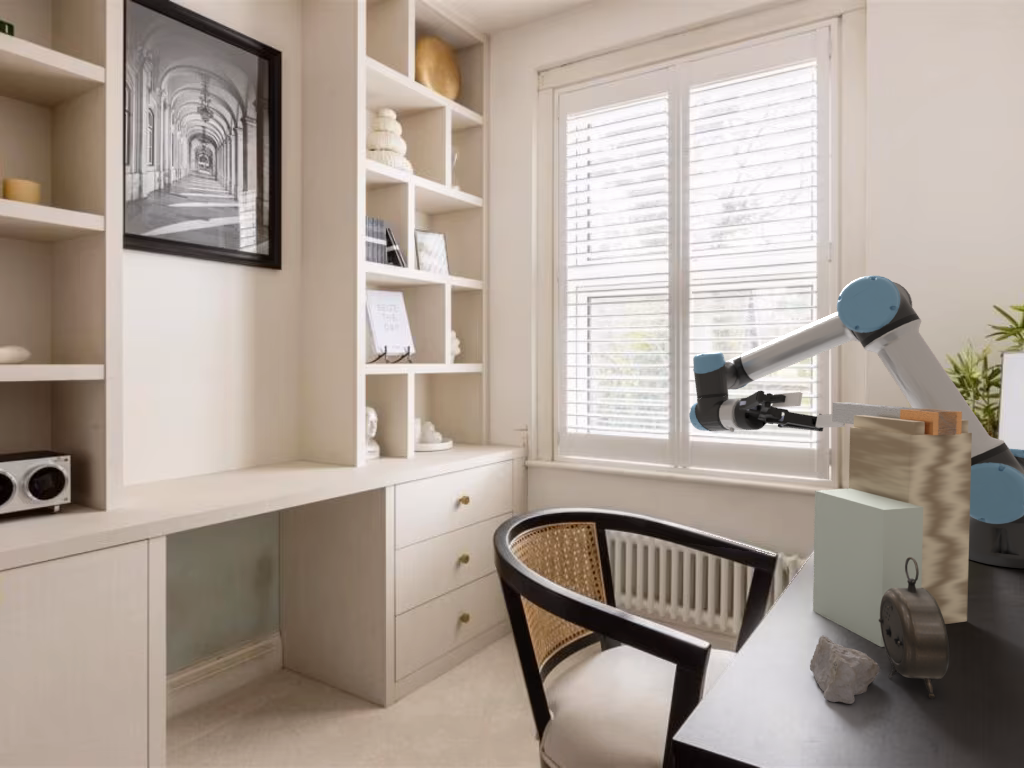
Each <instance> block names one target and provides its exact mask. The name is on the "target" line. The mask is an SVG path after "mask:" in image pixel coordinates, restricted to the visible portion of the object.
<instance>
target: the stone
mask: <svg viewBox="0 0 1024 768" xmlns="http://www.w3.org/2000/svg"><path fill="white" fill-rule="evenodd" d="M809 668H810V671H811V672H812V674H813V676H814V679H815V682H816V683H817V684H818V685H819V686H818V687H819V688H820V690H821V691H823V698H825V700H827V701H828V702H830V703H837V702H839V703H843V704H847V705H848V704H849V705H851V704H853V703H854V702H855V695H858V696H859V695H861V694H863V693H866V692H867V691H868V686H869V685H870V684H871V683H873V682H875V680H876V677H877V676H878V675H879V673H880V672H881V669H880V666H879V663H877V661H876V660H875V659H873V658H871V657H870V656H869V655H868V654H867V653H865V652H862V651H860V650H857V649H854V648H849V647H845V646H843V645H841V644H838V643H836V642H833V641H832V640H831V639H830V638H829V637H828V636H825V635H820V636H819V637H818V643H817V644H816V646H815V650H814V652H813V655H812V658H811V659H810V664H809Z"/></svg>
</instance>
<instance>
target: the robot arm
mask: <svg viewBox="0 0 1024 768" xmlns="http://www.w3.org/2000/svg"><path fill="white" fill-rule="evenodd" d="M921 324H922V319H921V318H920V316H919V315H918V314H917V312H916V310H915V309H914V308H913V299H912V297H911V295H910V293H909V291H908V290H907V289H906V288H905V287H904V286H903V285H901V284H900V283H898V282H895V281H892V280H891V279H889V278H887V277H885V276H880V275H867V276H865V275H864V276H861V277H858V278H856V279H854V280H852V281H851V282H849V283H848V284H847V285H845V287H844V288H843V289H842V290H841V292H840V293H839V295H838V299H837V302H836V312H834V313H832V314H830V315H826V316H825V317H822V318H820V319H817V320H815V321H813V322H811V323H809V324H806V325H804V326H802V327H800V328H798V329H795V330H793V331H791V332H789V333H787V334H785V335H782V336H779V337H778V338H775V339H773V340H771V341H769V342H767V343H764V344H762V345H760V346H757V347H755V348H752V349H751V350H748V351H747V352H744V353H742V354H739V355H738V356H735V357H732V358H730V359H728V360H725V356H724V354H723V352H721V351H716V352H706V353H704V352H703V353H698V354H696V355H694V356H693V370H692V371H693V375H694V383H695V390H696V402H695V403H693V405H692V406H691V407H690V412H689V421H690V422H691V424H692V426H693V427H694V428H695V429H696V430H699V431H703V432H705V431H708V432H723V431H725V432H726V431H729V432H730V433H733V432H735V431H744V430H745V431H757V430H761V429H763V428H764V427H765V426H766V425H767V424H769V425H775V424H776V425H777V427H778V428H784V429H785V428H790V429H796V430H797V429H798V430H803V431H804V430H805V431H814V432H819V433H820V432H823V431H824V428H845V427H846V423H839V422H832V413H831V414H830V413H829V414H827V413H826V414H822V413H819V414H817V416H816V415H809V414H804V413H797V412H791V411H789V410H788V409H786V407H787V408H789V407H791V408H792V407H800V406H801V404H802V398H803V394H804V393H803V392H799V391H797V392H786V393H775V394H772V393H770V392H768V393H765V391H764V390H758V391H756V392H754V393H753V394H750V395H749V396H747V397H741V398H737V397H736V398H729V390H738V389H741V388H745V387H746V386H747V385H748V384H750V383H752V382H753V381H756V380H759V379H761V378H764V377H765V376H769V375H771V374H773V373H776V372H778V371H781V370H782V369H786V368H788V367H790V366H793V365H795V364H797V363H800V362H803V361H805V360H807V359H808V360H809V359H810V358H812V357H815V356H817V355H820V354H822V353H825V352H828V351H829V350H832V349H835V348H836V347H839V346H842V345H844V344H847V343H850V342H852V341H854V342H857V343H860V345H861V346H862V347H863V349H864V351H868V352H871V353H875V354H876V355H877V356H878V357H879V358H880V360H881V362H882V364H883V365H884V367H885V369H886V370H887V371H888V372H889V375H890V376H891V377H892V379H893V380H894V382H895V383H896V385H897V387H898V388H899V390H900V391H901V393H902V394H903V396H904V397H905V399H906V401H907V402H908V403H909V405H910V408H919V409H938V410H949V411H961V412H962V420H968V432H969V433H972V446H971V484H970V522H969V560H971V561H974V562H978V563H981V564H986V565H992V566H996V567H997V566H998V567H1002V568H1003V567H1004V568H1013V569H1024V449H1019V448H1017V449H1016V448H1009V447H1008V445H1007V444H1006V442H1005V441H1004V439H1003V440H1002V439H998V438H995V437H992V436H991V435H989V433H988V432H987V429H985V428H984V426H983V424H982V422H980V420H979V418H978V417H977V416H976V414H975V413H974V411H973V410H972V408H971V406H969V404H968V402H967V401H966V399H965V398H964V396H963V395H962V393H961V392H960V391H959V389H958V387H957V386H956V384H955V383H954V382H953V380H952V378H951V377H950V376H949V374H948V373H947V371H946V370H945V369H944V367H943V365H942V364H941V363H940V361H939V360H938V358H937V357H936V355H935V353H933V351H932V349H931V348H930V346H929V344H928V343H927V342H926V341H925V339H924V338H923V336H922V334H921V333H920V327H921Z"/></svg>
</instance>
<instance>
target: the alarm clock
mask: <svg viewBox="0 0 1024 768" xmlns="http://www.w3.org/2000/svg"><path fill="white" fill-rule="evenodd" d="M910 559H911V560H913V562H914V564H915V568H916V578H915V579H913V578H909V574H908V570H907V565H908V562H909V560H910ZM905 572H906V576H907V578H908V580H907V582H908V588H891V589H889V590H887V591H886V592H885V594H884V595H883V597H882V600H881V605H880V619H879V622H880V626H881V633H882V638H883V642H884V646H885V647H884V649H885V651H886V654H887V656H888V658H889V661H890V664H891V667H892V668H891V671H890V673H889V676H888V678H889V679H892V678H893V677H894V675H895V674H896V673H899V674H900V675H902V677H905V678H907V679H908V678H909V679H922V680H923V681H924V684H925V687H926V690H927V691H928V695H927V696H928V698H929V699H935V694H934V688H933V686H934V685H933V683H932V680H942V679H943V678H944V677H945V675H946V674H947V672H948V668H949V664H950V643H949V637H948V636H949V635H948V631H947V626H946V624H945V621H944V619H943V616H942V613H941V610H940V608H939V606H938V604H937V602H936V600H935V598H934V597H933V596H932V594H931V593H930V592H929V591H927V590H926V589H924V588H916V587H915V584H916V581H917V580H918V575H919V569H918V564H917V562H916V560H915V559H914V558H913V557H908V558H907V559H906V562H905Z"/></svg>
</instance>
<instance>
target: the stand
mask: <svg viewBox="0 0 1024 768" xmlns="http://www.w3.org/2000/svg"><path fill="white" fill-rule="evenodd" d="M924 432H925V422H923V421H913V420H904V419H895V418H885V417H876V416H867V415H854V424H853V426H851V427H849V460H848V462H849V463H848V468H849V469H848V489H850V488H851V489H855V490H859V491H863V492H866V493H870V494H874V495H878V496H882V497H886V498H890V499H894V500H898V501H902V502H906V503H910V504H914V505H918V506H922V507H923V540H922V583H921V588H924V589H926V590H927V591H929V592H930V593H931V594H932V596H933V597H934V598H935V600H936V602H937V604H938V606H939V608H940V610H941V613H942V616H943V619H944V621H945V625H948V624H956V623H964V622H967V621H968V595H969V594H968V590H969V560H970V559H969V522H970V484H971V446H972V433H969V432H968V420H962V430H961V434H955V435H926V434H924Z"/></svg>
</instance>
